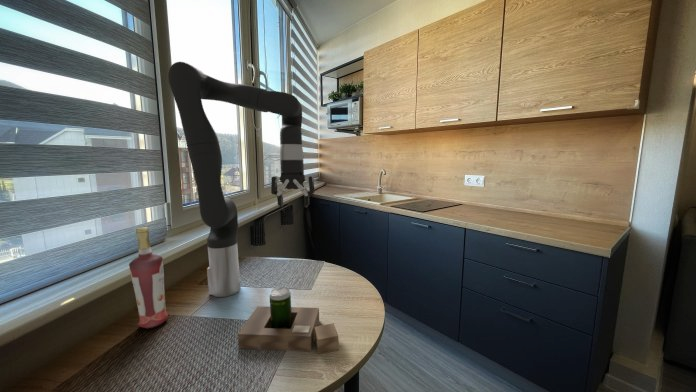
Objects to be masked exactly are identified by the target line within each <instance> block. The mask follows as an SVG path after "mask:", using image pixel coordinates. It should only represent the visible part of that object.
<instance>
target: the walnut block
mask: <svg viewBox="0 0 696 392" xmlns="http://www.w3.org/2000/svg"><path fill="white" fill-rule="evenodd" d="M338 333H339V332H338V331H337V329H336V326H335V323H328V324H322V325H318V326H316V327H315V338H314V342H315V347H316V350H317V354H318V355H323V354H326V353H327V354H328V353H332V352H337V351H339V334H338Z"/></svg>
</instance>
